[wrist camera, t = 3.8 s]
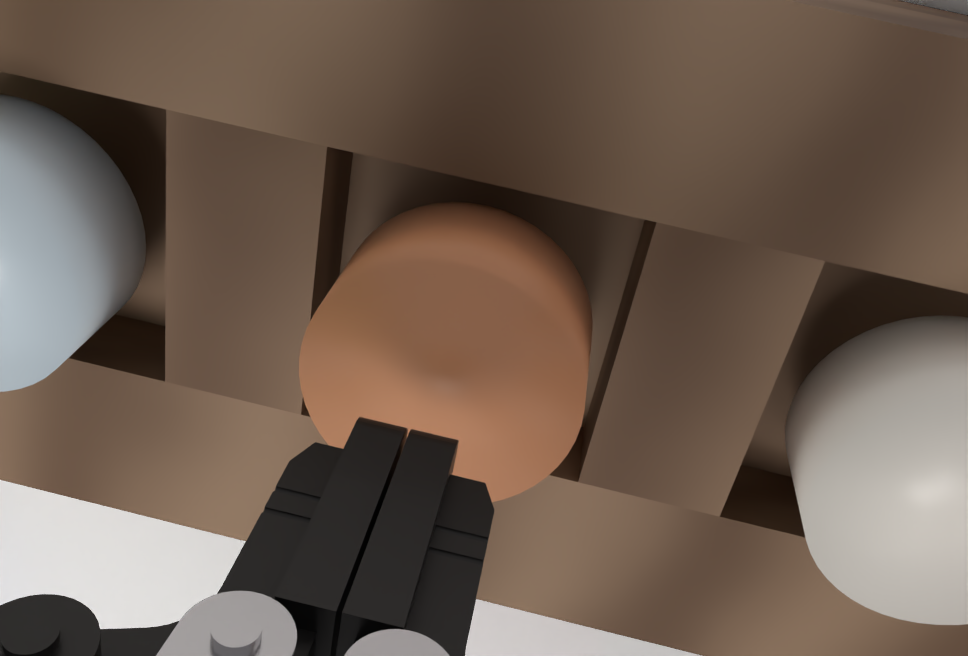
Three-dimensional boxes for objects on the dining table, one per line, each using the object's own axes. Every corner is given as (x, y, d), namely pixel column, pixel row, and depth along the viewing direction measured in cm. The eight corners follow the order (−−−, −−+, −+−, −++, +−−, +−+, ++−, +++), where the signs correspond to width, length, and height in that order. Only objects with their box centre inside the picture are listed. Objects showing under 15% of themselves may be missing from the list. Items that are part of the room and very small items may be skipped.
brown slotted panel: (1241, 74, 16) (1353, 123, 14) (914, 616, 23) (947, 716, 21) (-91, -215, 17) (-219, -220, 15) (-19, 387, 24) (-97, 455, 22)
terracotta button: (621, 237, 17) (617, 299, 14) (560, 452, 19) (549, 533, 17) (354, 174, 17) (311, 228, 15) (328, 396, 19) (289, 468, 17)
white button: (1121, 352, 16) (1194, 434, 14) (992, 556, 19) (1037, 653, 17) (841, 287, 16) (870, 358, 14) (750, 498, 19) (763, 585, 17)
